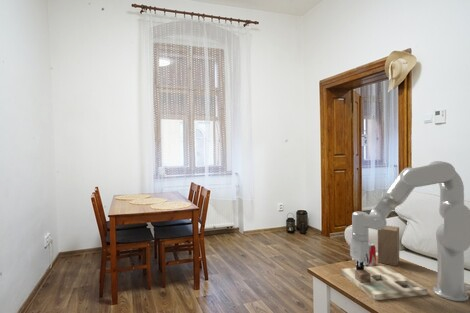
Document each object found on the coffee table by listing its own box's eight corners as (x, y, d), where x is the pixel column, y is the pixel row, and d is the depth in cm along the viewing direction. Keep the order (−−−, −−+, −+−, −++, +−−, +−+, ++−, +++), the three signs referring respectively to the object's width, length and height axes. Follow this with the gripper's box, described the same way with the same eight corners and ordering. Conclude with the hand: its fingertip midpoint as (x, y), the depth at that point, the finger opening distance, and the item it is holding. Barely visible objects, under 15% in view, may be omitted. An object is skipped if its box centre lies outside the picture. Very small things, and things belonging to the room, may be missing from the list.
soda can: (377, 267, 160) (377, 246, 160) (363, 266, 161) (363, 245, 161) (374, 262, 167) (373, 242, 167) (360, 262, 168) (360, 241, 168)
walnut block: (364, 277, 142) (364, 269, 141) (370, 282, 137) (370, 274, 137) (355, 278, 141) (355, 270, 141) (360, 282, 136) (360, 274, 136)
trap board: (384, 269, 157) (384, 265, 157) (427, 294, 129) (427, 289, 129) (340, 273, 153) (340, 269, 153) (374, 300, 125) (374, 294, 125)
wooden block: (380, 257, 176) (380, 224, 175) (399, 260, 170) (399, 226, 169) (377, 262, 167) (377, 228, 167) (397, 266, 162) (397, 230, 161)
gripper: (345, 233, 150) (345, 268, 150) (362, 242, 135) (361, 280, 136) (358, 232, 151) (358, 267, 152) (376, 241, 136) (376, 279, 137)
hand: (360, 273), depth 144 cm, fingers closed
